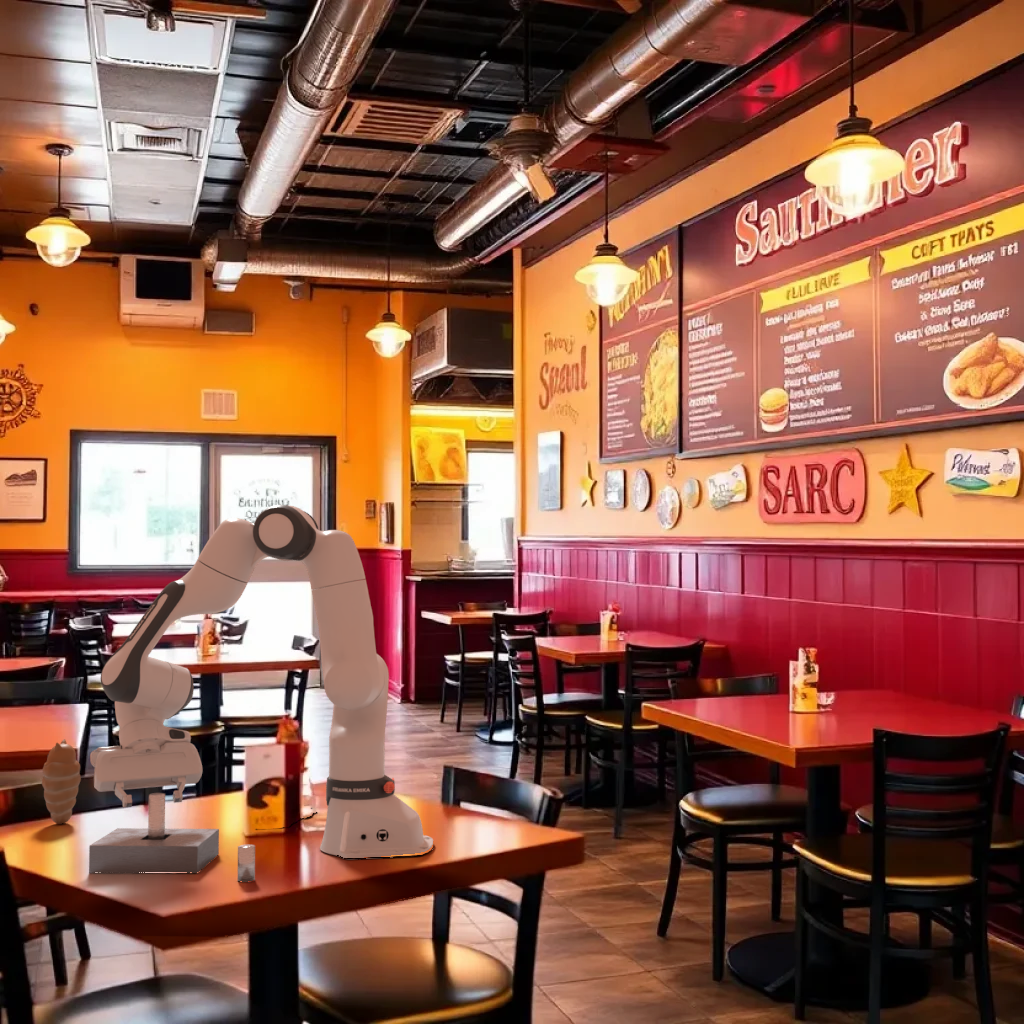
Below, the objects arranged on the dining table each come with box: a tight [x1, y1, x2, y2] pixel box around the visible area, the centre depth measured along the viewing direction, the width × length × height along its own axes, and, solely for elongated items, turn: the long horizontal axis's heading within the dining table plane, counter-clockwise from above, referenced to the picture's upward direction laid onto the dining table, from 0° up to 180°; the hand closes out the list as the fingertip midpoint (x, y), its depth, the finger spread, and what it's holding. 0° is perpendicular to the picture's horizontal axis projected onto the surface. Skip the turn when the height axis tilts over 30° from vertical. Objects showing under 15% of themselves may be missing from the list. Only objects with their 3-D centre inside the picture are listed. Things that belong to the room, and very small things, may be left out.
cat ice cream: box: [41, 739, 82, 825], centre depth 253 cm, size 9×8×18 cm
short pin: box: [237, 844, 256, 883], centre depth 208 cm, size 3×3×6 cm
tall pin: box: [147, 792, 166, 840], centre depth 219 cm, size 3×3×13 cm
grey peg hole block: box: [88, 827, 220, 874], centre depth 219 cm, size 20×14×5 cm
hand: (153, 803), depth 222 cm, fingers open, 8 cm apart
